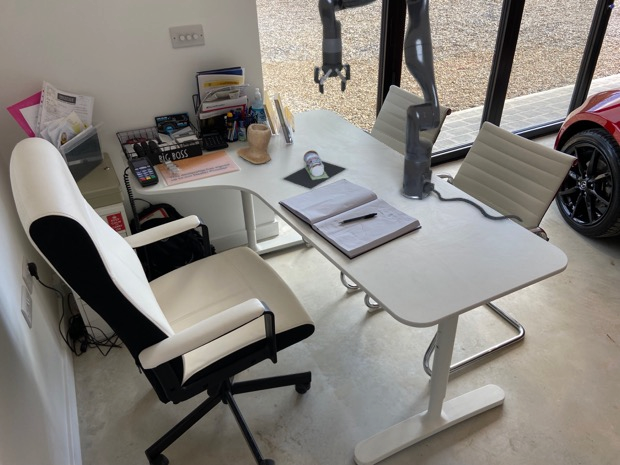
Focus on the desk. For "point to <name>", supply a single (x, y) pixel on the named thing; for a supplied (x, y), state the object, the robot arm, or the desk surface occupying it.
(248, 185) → the desk surface
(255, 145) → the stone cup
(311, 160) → the beverage can
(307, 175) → the desk mat
